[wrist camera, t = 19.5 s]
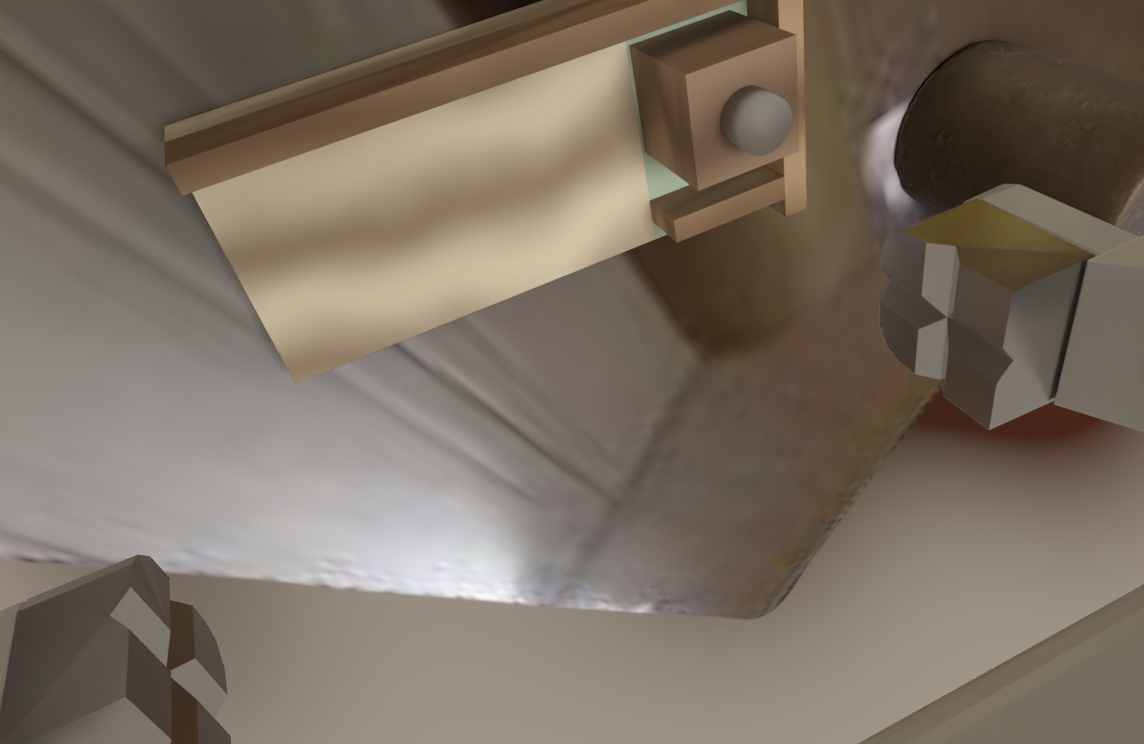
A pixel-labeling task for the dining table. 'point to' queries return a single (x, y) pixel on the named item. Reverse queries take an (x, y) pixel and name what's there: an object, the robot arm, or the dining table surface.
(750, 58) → the knobbed wooden block
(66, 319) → the dining table surface
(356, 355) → the rail board
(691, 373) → the dining table surface
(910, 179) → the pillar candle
